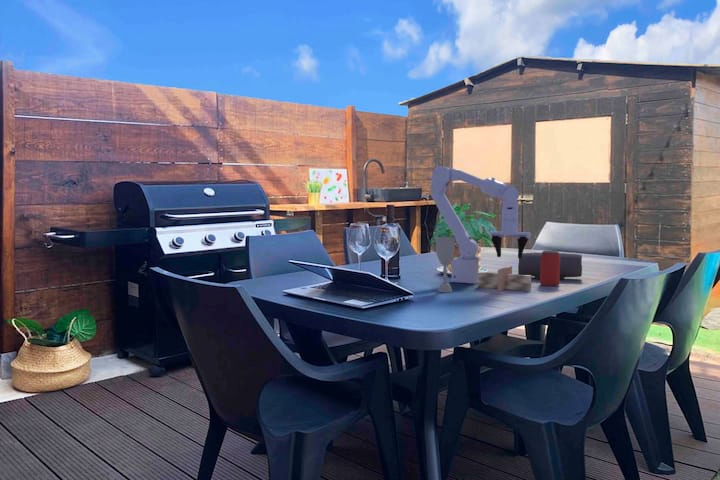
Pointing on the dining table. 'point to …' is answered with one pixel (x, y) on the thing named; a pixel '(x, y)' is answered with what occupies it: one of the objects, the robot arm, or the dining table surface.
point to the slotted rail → (513, 282)
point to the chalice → (445, 258)
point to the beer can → (550, 268)
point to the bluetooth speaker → (568, 265)
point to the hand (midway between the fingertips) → (509, 257)
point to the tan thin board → (503, 277)
